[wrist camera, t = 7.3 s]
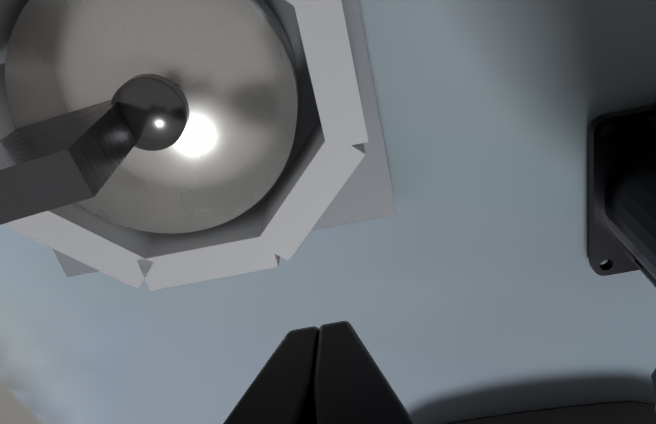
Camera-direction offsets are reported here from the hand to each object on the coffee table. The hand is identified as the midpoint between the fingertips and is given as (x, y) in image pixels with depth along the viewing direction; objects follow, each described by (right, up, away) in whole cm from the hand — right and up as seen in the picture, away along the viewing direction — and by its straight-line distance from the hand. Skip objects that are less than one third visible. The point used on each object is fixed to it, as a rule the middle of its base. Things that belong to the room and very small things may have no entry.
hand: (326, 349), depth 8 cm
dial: (-5, +6, +10) cm, 12 cm away
